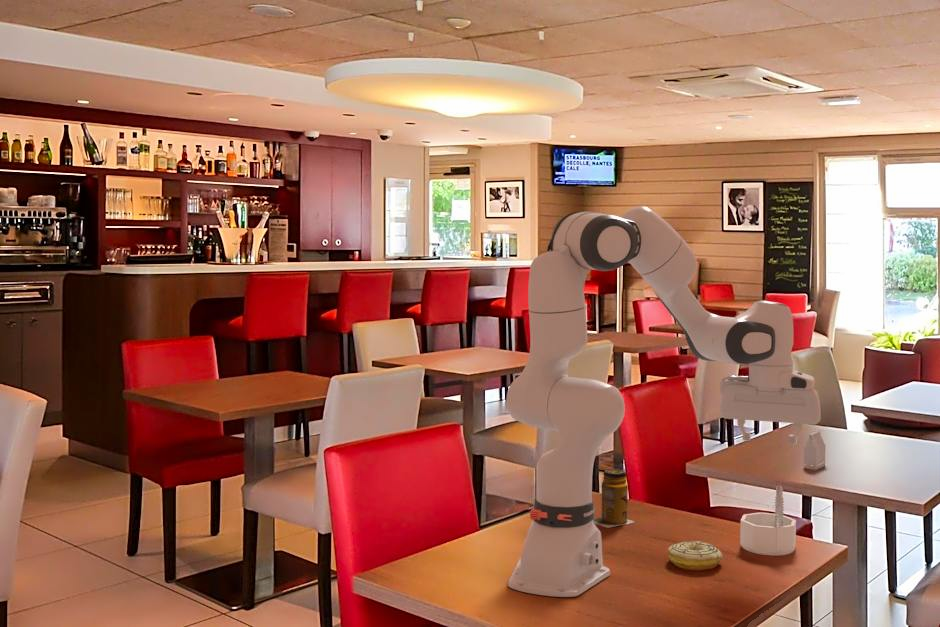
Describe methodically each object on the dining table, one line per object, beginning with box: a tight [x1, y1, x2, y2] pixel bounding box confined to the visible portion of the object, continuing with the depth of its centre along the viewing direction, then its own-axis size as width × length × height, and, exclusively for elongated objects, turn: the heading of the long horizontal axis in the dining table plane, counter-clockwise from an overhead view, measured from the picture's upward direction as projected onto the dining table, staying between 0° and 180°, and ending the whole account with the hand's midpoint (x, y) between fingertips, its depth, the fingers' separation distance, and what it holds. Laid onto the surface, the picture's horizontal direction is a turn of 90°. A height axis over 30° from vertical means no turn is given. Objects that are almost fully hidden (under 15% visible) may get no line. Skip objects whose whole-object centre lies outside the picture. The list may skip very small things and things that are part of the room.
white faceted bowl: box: [739, 511, 797, 557], centre depth 205 cm, size 11×11×6 cm
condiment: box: [593, 468, 635, 529], centre depth 225 cm, size 7×8×12 cm
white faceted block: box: [803, 431, 826, 471], centre depth 278 cm, size 4×7×10 cm, turn 139°
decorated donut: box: [667, 540, 724, 571], centre depth 195 cm, size 10×11×4 cm
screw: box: [774, 484, 785, 527], centre depth 204 cm, size 13×5×5 cm
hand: (769, 442), depth 204 cm, fingers open, 8 cm apart
